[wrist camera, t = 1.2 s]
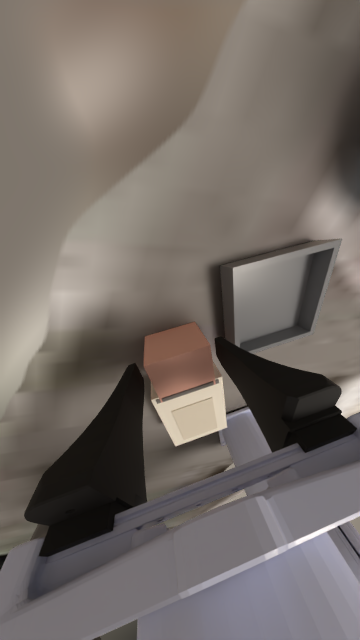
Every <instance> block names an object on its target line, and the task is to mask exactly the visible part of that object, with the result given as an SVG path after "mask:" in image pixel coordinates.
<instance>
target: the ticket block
mask: <svg viewBox="0 0 360 640" xmlns="http://www.w3.org/2000/svg"><path fill="white" fill-rule="evenodd" d="M212 361H213V360H212ZM213 368H214V375H215V383H216V384H215V385H212V386H209V387H206V388H203V389H200V390H197V391H194V392H191V393H189V394H186V395H183V396H180V397H177V398H174V399H171V400H168V401H165V402H162V403H161V401H160V399H159V397H158V395H157V393H156V391H155V389H154V387H153V385H152V383H151V401H152V403H153V405H154V407H155V409H156V410H157V412H158V414H159V416H160V418H161V420H162V422H163V424H164V425H165V427H166V429H167V431H168V433H169V435H170V437H171V439H172V441H173V442H174V444H175V446H178V445H181V444H183V443H186V442H189V441H192V440H194V439H197V438H200V437H203V436H205V435H208V434H211V433H214V432H216V431H219V430H222V429H224V428H227V421H226V411H225V401H224V391H223V381H222V376H221V374H220V372H219V370H218V369H217V367H216V365H215V364H214V362H213Z"/></svg>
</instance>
